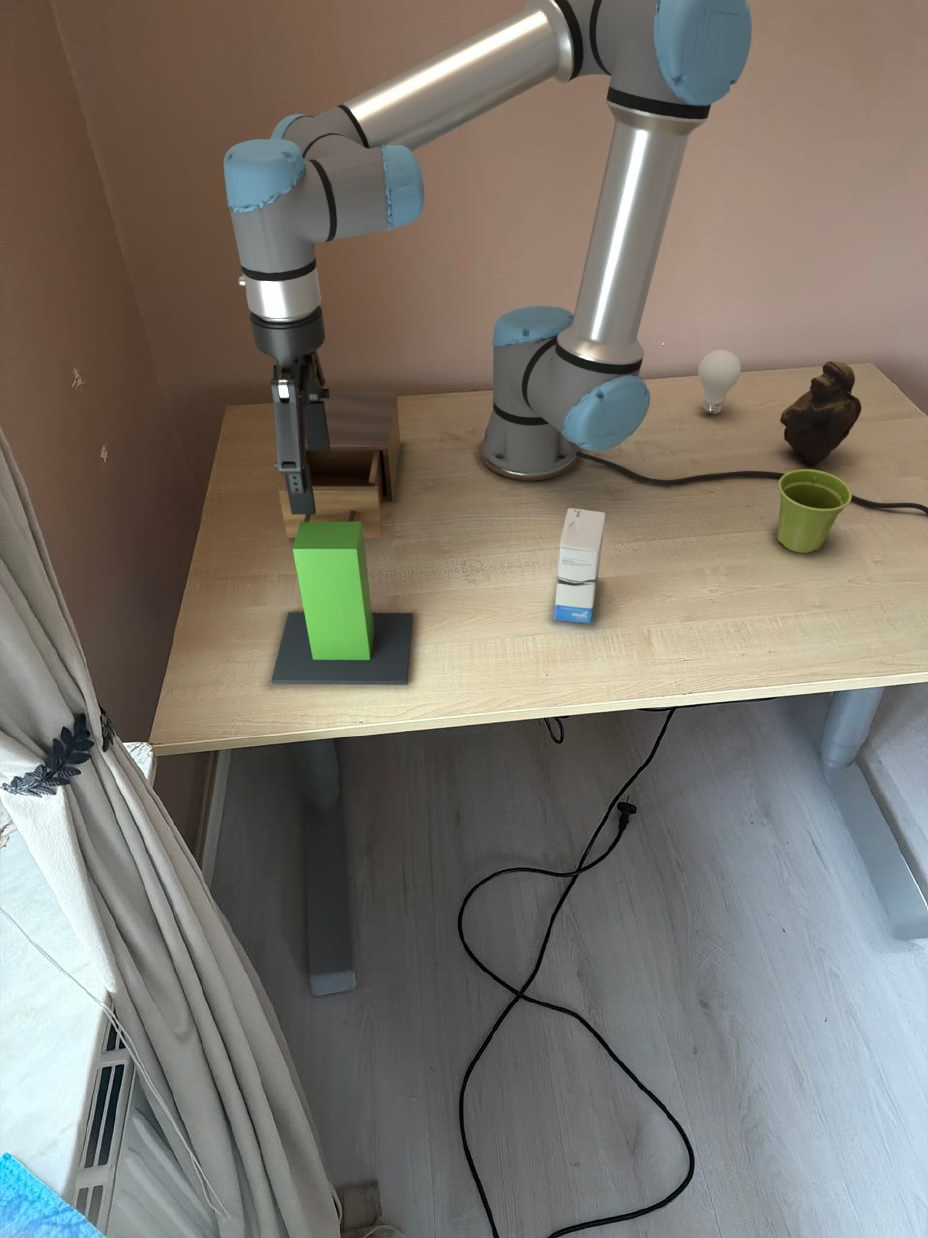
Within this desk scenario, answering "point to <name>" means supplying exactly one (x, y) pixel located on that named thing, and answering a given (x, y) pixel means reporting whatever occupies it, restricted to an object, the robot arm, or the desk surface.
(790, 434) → the sculpture
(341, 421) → the cabinet
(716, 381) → the light bulb
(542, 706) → the desk surface
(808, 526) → the plant pot
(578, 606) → the ink box
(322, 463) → the drawer
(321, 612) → the tall green prism
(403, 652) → the slate mat
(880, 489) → the desk surface
